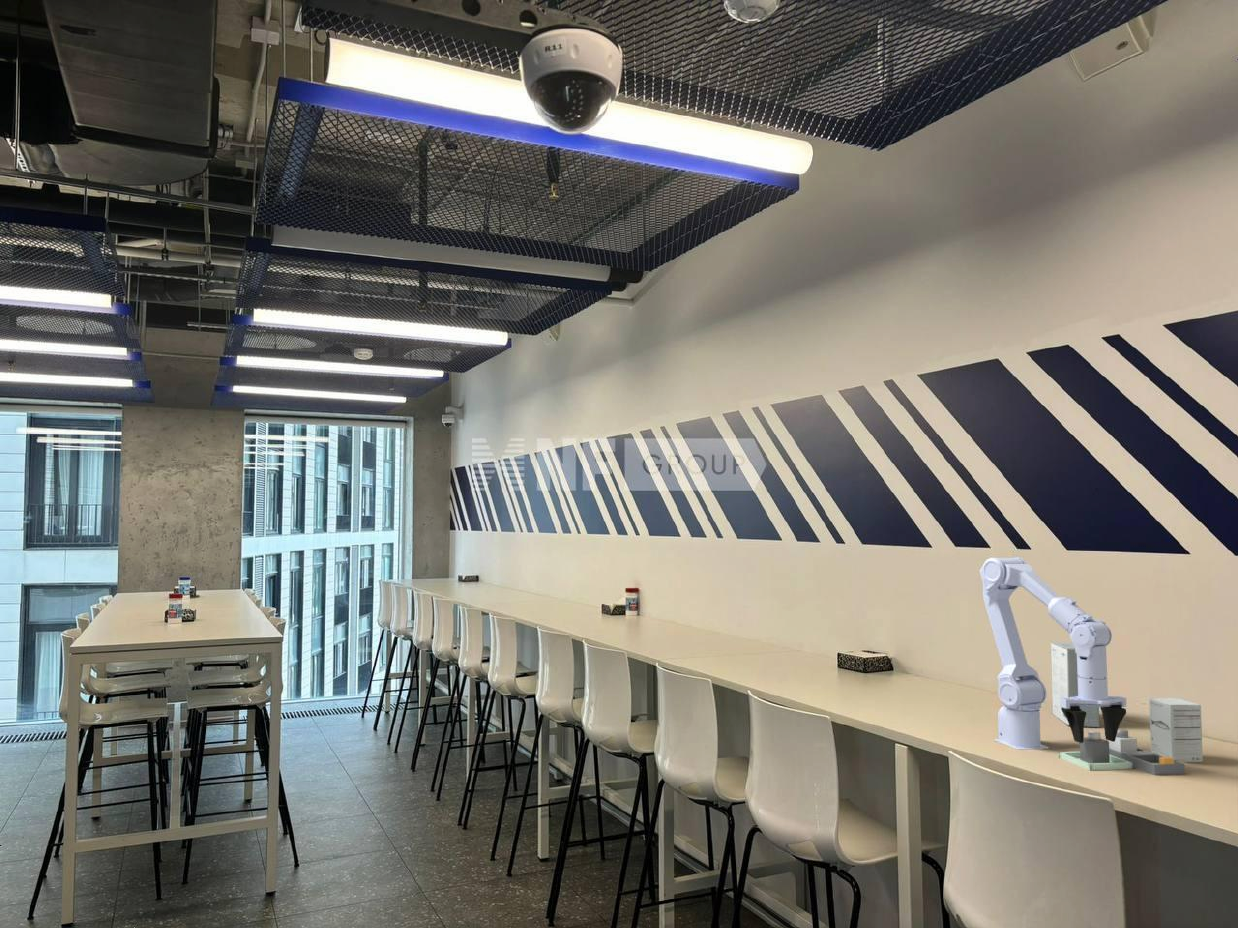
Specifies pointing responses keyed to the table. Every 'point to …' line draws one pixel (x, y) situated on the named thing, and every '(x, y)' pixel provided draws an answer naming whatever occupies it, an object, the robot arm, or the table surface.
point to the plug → (1094, 749)
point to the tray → (1113, 765)
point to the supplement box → (1176, 729)
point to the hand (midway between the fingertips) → (1094, 740)
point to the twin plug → (1123, 742)
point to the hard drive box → (1067, 681)
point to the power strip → (1151, 762)
